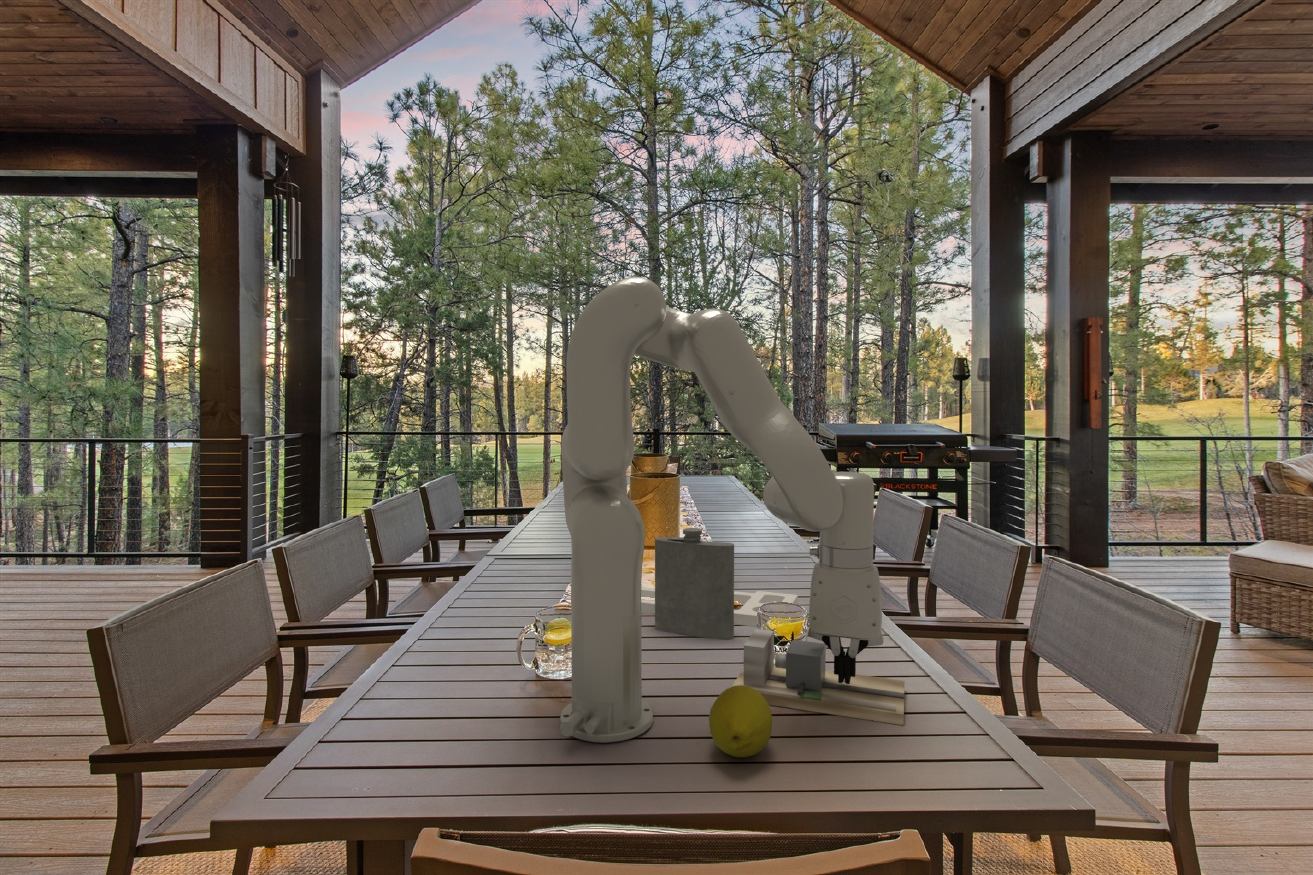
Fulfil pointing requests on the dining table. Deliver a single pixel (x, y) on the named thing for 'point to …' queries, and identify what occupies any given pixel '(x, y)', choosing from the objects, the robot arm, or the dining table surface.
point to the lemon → (740, 721)
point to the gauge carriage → (803, 665)
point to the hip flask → (694, 586)
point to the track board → (850, 700)
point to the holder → (748, 600)
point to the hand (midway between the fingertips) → (844, 679)
